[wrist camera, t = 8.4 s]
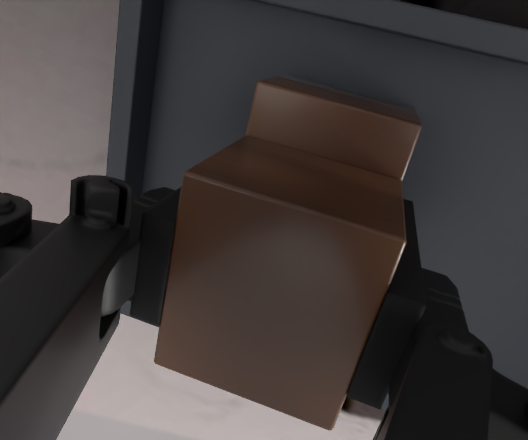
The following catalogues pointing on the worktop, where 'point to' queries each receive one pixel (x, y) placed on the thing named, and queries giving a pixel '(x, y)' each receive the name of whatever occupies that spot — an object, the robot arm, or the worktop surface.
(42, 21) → the worktop surface
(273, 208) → the brown t-shaped block
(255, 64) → the tray
